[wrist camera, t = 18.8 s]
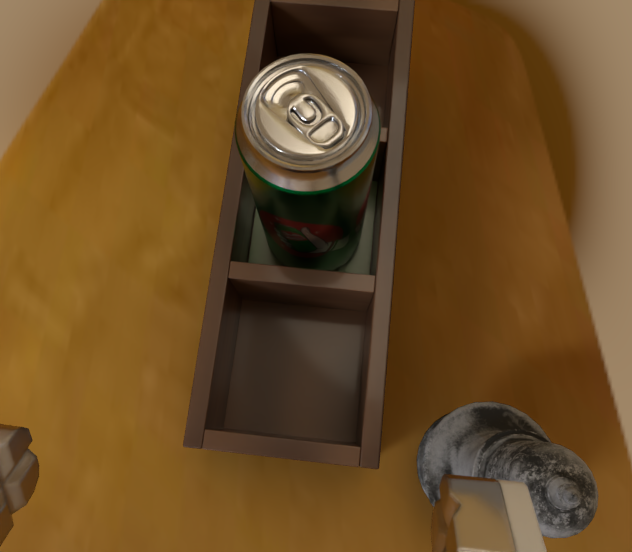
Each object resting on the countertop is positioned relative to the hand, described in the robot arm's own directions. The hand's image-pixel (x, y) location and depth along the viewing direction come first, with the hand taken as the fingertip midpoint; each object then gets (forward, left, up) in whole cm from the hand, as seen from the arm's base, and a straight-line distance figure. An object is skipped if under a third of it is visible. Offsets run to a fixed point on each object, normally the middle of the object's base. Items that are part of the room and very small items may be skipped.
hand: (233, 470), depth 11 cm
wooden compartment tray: (0, +11, -17) cm, 21 cm away
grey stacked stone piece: (+9, 0, -18) cm, 20 cm away
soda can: (0, +11, -17) cm, 20 cm away
